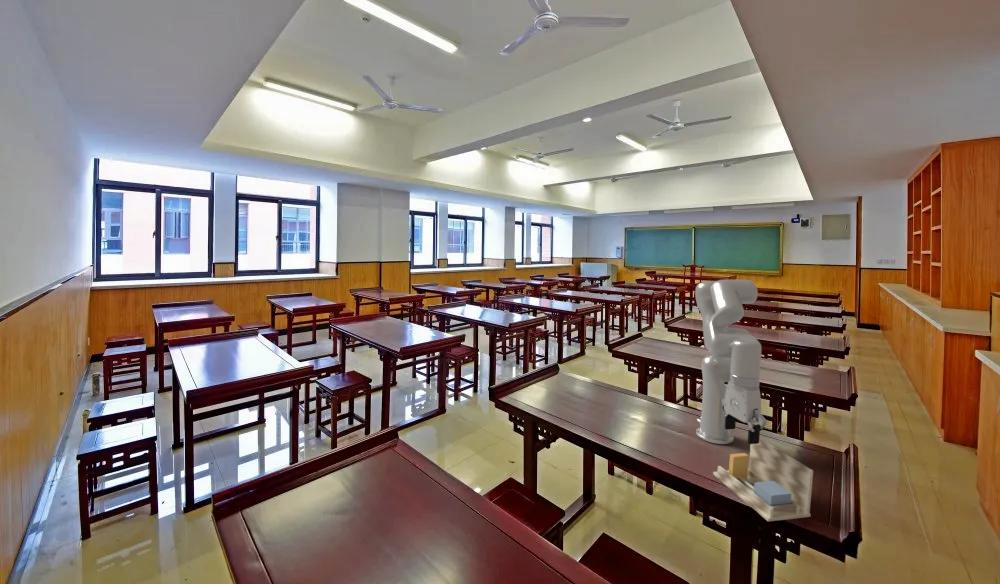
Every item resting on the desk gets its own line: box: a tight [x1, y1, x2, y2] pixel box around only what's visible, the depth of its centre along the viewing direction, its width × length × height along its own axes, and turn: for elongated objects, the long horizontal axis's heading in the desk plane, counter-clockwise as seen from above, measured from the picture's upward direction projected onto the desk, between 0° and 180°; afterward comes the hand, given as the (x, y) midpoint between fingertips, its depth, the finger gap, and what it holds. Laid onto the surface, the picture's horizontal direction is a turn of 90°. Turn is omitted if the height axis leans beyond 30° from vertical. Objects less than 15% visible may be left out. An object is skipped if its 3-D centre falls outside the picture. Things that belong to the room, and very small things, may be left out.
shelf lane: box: [712, 437, 814, 522], centre depth 118 cm, size 22×13×13 cm, turn 8°
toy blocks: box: [728, 452, 792, 506], centre depth 117 cm, size 17×6×8 cm, turn 8°
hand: (741, 435), depth 123 cm, fingers open, 9 cm apart
